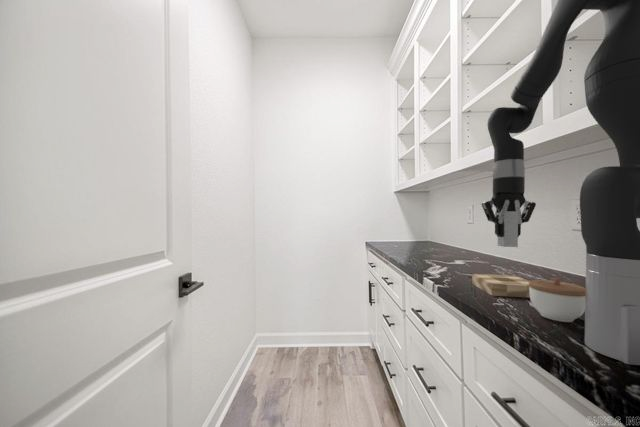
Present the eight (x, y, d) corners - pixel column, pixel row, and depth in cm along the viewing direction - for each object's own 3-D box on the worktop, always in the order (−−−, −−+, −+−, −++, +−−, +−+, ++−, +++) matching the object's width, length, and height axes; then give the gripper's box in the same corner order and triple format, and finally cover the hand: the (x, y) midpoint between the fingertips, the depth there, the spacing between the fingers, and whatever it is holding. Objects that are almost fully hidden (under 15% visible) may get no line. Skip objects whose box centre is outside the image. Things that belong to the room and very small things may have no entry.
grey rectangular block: (517, 247, 75) (518, 211, 76) (504, 246, 76) (504, 211, 76) (510, 245, 79) (510, 211, 79) (497, 245, 79) (498, 211, 79)
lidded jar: (533, 320, 63) (534, 280, 63) (524, 306, 72) (524, 271, 72) (596, 330, 58) (597, 286, 58) (577, 314, 67) (578, 276, 67)
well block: (542, 298, 80) (542, 286, 80) (491, 295, 82) (492, 283, 82) (514, 285, 94) (514, 275, 94) (471, 283, 96) (472, 273, 96)
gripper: (488, 175, 75) (487, 237, 75) (544, 175, 73) (543, 238, 73) (476, 179, 82) (475, 235, 82) (526, 179, 80) (526, 236, 80)
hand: (507, 236), depth 77 cm, fingers closed on grey rectangular block, 3 cm apart
